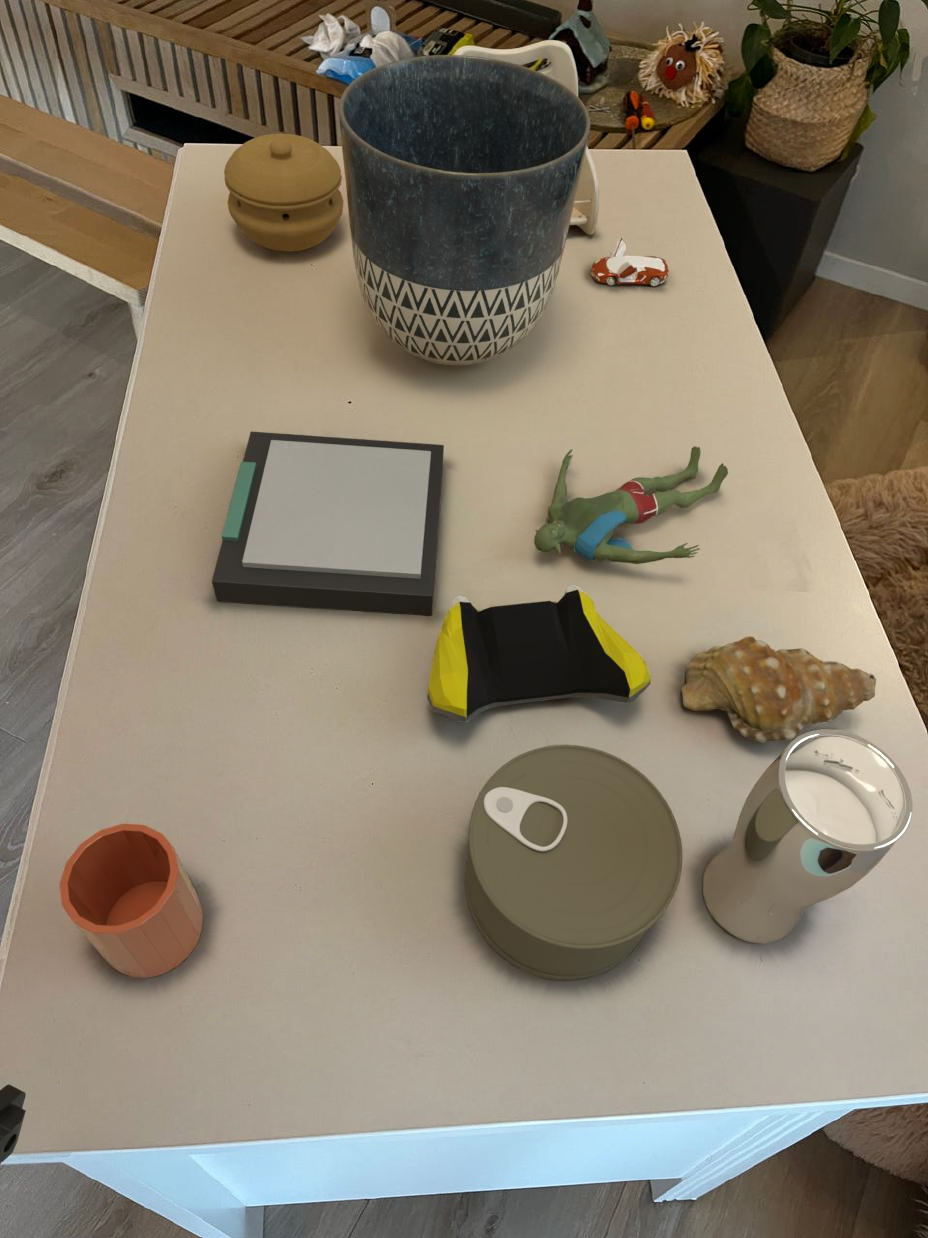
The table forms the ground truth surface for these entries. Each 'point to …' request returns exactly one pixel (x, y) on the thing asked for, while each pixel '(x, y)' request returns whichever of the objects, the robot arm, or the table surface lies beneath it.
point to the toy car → (629, 268)
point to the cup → (132, 900)
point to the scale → (332, 525)
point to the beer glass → (806, 833)
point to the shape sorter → (566, 74)
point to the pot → (284, 191)
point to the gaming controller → (530, 656)
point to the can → (570, 861)
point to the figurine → (618, 515)
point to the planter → (459, 199)
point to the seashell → (772, 688)
